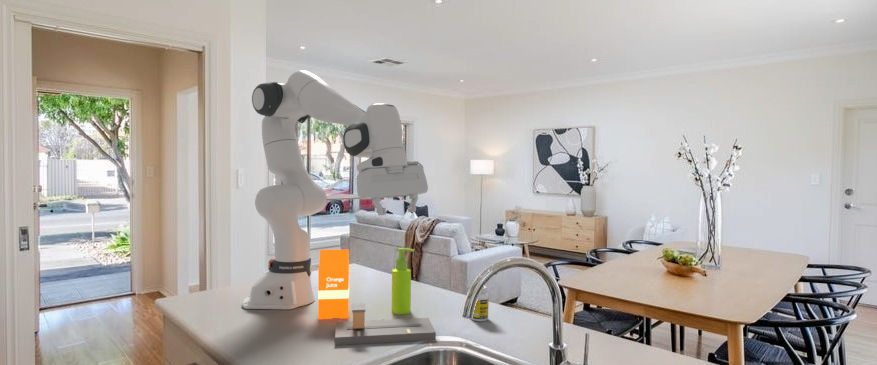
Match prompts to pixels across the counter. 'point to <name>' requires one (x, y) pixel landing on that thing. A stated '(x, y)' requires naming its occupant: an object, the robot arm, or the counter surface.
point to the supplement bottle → (481, 306)
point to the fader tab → (358, 315)
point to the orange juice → (333, 284)
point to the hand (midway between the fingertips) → (397, 213)
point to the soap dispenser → (401, 285)
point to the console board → (385, 331)
